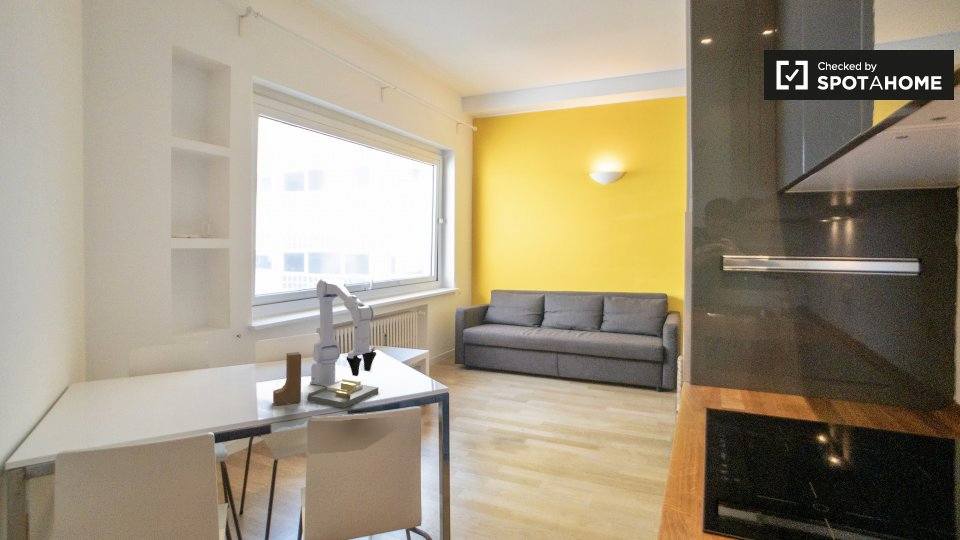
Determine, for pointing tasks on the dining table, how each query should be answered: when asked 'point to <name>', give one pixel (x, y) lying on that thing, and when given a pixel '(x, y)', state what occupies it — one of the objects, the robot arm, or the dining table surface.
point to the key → (347, 387)
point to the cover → (338, 385)
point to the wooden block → (290, 382)
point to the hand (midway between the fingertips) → (361, 373)
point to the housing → (337, 400)
